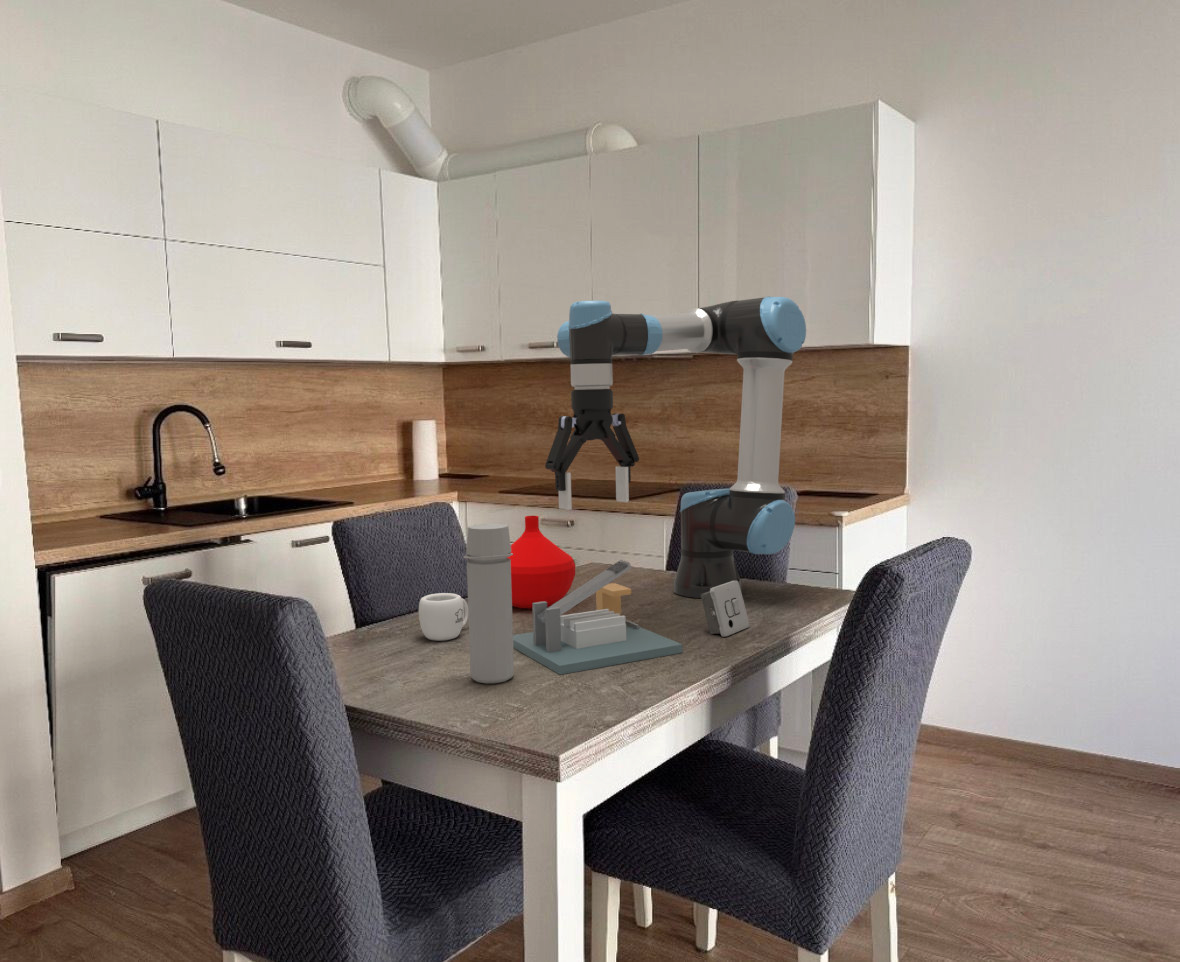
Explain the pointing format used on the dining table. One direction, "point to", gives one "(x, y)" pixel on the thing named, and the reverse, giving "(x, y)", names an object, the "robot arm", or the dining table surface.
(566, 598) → the grey long bar
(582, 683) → the dining table surface
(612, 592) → the orange block
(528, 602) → the vase
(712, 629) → the electrical switch
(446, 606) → the mug
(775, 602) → the dining table surface
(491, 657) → the water bottle
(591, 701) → the dining table surface
